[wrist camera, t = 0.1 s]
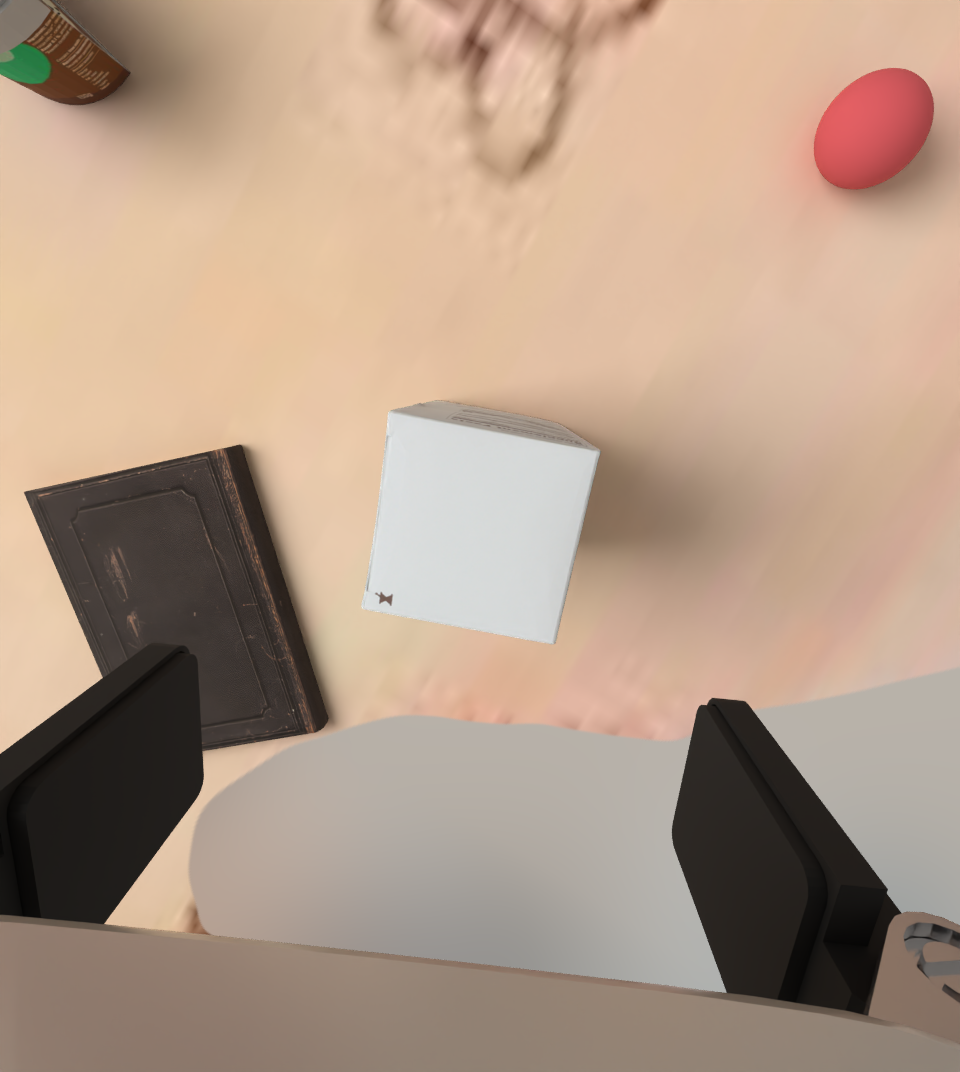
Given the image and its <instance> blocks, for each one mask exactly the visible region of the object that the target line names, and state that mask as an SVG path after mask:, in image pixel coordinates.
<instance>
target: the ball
mask: <svg viewBox="0 0 960 1072" xmlns="http://www.w3.org/2000/svg"><path fill="white" fill-rule="evenodd" d="M933 112H934V103H933V97H932V94H931V91H930V89H929V87H928V85H927V84H926V82H925V81H924V80H923V79H922V78H921V77H920V76H918V75H917V74H915V73H913V72H912V71H909V70H906V69H900V68H888V69H882V70H878V71H874V72H871V73H869V74H867V75H864V76H862V77H861V78H859V79H857V80H855V81H854V82H853V83H851V84H850V85H849V86H847V87H846V88H845V89H844V90H843V91H842V92H841V93H840V94H839V95H838V96H837V97H836V98H835V99H834V100H833V101H832V103H831V104H830V105H829V107H828V108H827V110H826V111H825V113H824V115H823V117H822V119H821V121H820V123H819V126H818V128H817V132H816V135H815V141H814V156H815V161H816V164H817V167H818V169H819V171H820V173H821V174H822V175H823V177H824V178H825V179H826V180H828V181H829V182H830V183H832V184H834V185H836V186H838V187H841V188H846V189H862V188H868V187H871V186H874V185H877V184H879V183H882V182H884V181H886V180H888V179H889V178H891V177H893V176H894V175H895V174H897V173H898V172H900V171H901V170H902V169H903V168H904V167H905V166H906V165H907V164H909V162H910V161H911V160H912V159H913V158H914V157H915V156H916V154H917V153H918V151H919V150H920V149H921V147H922V145H923V144H924V142H925V140H926V138H927V136H928V133H929V131H930V128H931V125H932V120H933Z"/></svg>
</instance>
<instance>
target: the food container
mask: <svg viewBox="0 0 960 1072" xmlns="http://www.w3.org/2000/svg"><path fill="white" fill-rule="evenodd" d="M0 74H1V75H3V76H5V77H7V78H9V79H11V80H13V81H15V82H17V83H18V84H20V85H22V86H24V87H26V88H28V89H30V90H32V91H34V92H36V93H38V94H40V95H42V96H44V97H46V98H48V99H51V100H53V101H56V102H59V103H64V104H69V105H83V104H89V103H94V102H96V101H99V100H101V99H104V98H105V97H107V96H108V95H110V94H111V93H113V92H114V91H115V90H116V89H117V88H118V87H119V86H121V85H122V84H123V82H124V81H125V79H126V78H127V77H128V75H129V74H130V72H129V71H128V70H127V69H126V68H125V67H124V66H123V65H122V64H121V63H120V62H119V61H118V60H117V59H116V58H115V57H114V56H113V55H112V54H111V53H110V52H108V51H107V50H106V49H105V48H104V47H103V46H102V45H101V44H100V43H99V42H98V41H97V40H96V39H95V38H94V37H93V36H92V35H91V34H90V33H89V32H88V31H87V30H86V29H85V28H84V27H82V26H81V25H80V24H79V23H78V22H77V21H76V20H75V19H74V18H73V17H72V16H71V15H70V14H69V13H68V12H67V11H66V10H65V9H64V8H63V7H62V6H61V5H60V4H59V3H57V2H56V1H55V0H0Z"/></svg>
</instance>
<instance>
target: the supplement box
mask: <svg viewBox="0 0 960 1072" xmlns="http://www.w3.org/2000/svg"><path fill="white" fill-rule="evenodd" d="M600 453H601V451H600V450H599V449H598V448H596V447H595V446H593V445H592V444H590V443H589V442H587V441H586V440H584V439H582V438H581V437H579V436H578V435H576V434H575V433H573V432H572V431H570V430H568V429H567V428H565V427H564V426H562V425H561V424H559V423H556V422H552V421H548V420H544V419H539V418H534V417H529V416H524V415H519V414H514V413H508V412H503V411H498V410H492V409H487V408H481V407H475V406H469V405H463V404H457V403H451V402H446V401H440V400H435V401H431V402H426V403H423V404H422V403H419V404H415V405H412V406H408V407H404V408H398V409H394V410H391V411H389V413H388V421H387V431H386V441H385V451H384V460H383V468H382V476H381V485H380V493H379V501H378V509H377V516H376V524H375V531H374V538H373V544H372V550H371V557H370V563H369V570H368V576H367V581H366V587H365V592H364V597H363V601H362V608H363V609H365V610H370V611H375V612H380V613H386V614H391V615H396V616H401V617H407V618H412V619H418V620H423V621H428V622H434V623H439V624H445V625H450V626H456V627H461V628H466V629H472V630H477V631H483V632H488V633H493V634H499V635H504V636H509V637H515V638H520V639H525V640H531V641H537V642H543V643H548V644H555V643H556V638H557V634H558V629H559V625H560V621H561V616H562V612H563V608H564V604H565V599H566V595H567V591H568V586H569V582H570V578H571V573H572V569H573V565H574V561H575V556H576V552H577V548H578V543H579V539H580V535H581V531H582V527H583V522H584V518H585V514H586V510H587V505H588V501H589V497H590V492H591V488H592V484H593V480H594V476H595V472H596V467H597V463H598V459H599V456H600Z"/></svg>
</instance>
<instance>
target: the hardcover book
mask: <svg viewBox="0 0 960 1072" xmlns="http://www.w3.org/2000/svg"><path fill="white" fill-rule="evenodd" d="M24 494H25V496H26V498H27V501H28V503H29V505H30V508H31V510H32V512H33V515H34V517H35V519H36V522H37V524H38V526H39V529H40V531H41V533H42V536H43V538H44V541H45V543H46V545H47V548H48V550H49V552H50V555H51V557H52V559H53V562H54V564H55V566H56V569H57V571H58V573H59V576H60V578H61V580H62V583H63V585H64V588H65V590H66V592H67V595H68V597H69V599H70V602H71V604H72V606H73V609H74V611H75V613H76V616H77V618H78V620H79V623H80V625H81V627H82V630H83V632H84V635H85V637H86V639H87V642H88V644H89V646H90V649H91V651H92V653H93V656H94V658H95V660H96V663H97V665H98V667H99V670H100V672H101V674H102V677H103V678H104V677H105V676H107V675H108V674H109V673H111V672H112V671H113V670H115V669H116V668H117V667H119V666H120V665H121V664H123V663H124V662H125V661H127V660H128V659H130V658H131V657H132V656H134V655H135V654H136V653H138V652H139V651H140V650H142V649H143V648H144V647H146V646H147V645H149V644H151V643H165V644H175V645H185V646H186V647H187V648H188V650H189V652H190V654H194V655H195V656H196V658H197V661H198V676H199V695H200V714H201V733H202V751H205V750H212V749H218V748H224V747H230V746H236V745H242V744H248V743H254V742H260V741H266V740H272V739H278V738H284V737H290V736H297V735H303V734H309V733H315V732H317V731H319V730H321V729H322V728H323V727H324V726H325V725H326V723H327V721H328V716H327V713H326V710H325V707H324V703H323V700H322V697H321V694H320V691H319V688H318V685H317V681H316V678H315V675H314V672H313V669H312V666H311V663H310V660H309V656H308V653H307V650H306V647H305V644H304V641H303V638H302V634H301V631H300V628H299V625H298V622H297V619H296V616H295V612H294V609H293V606H292V603H291V600H290V597H289V594H288V590H287V587H286V584H285V581H284V578H283V575H282V572H281V568H280V565H279V562H278V559H277V556H276V553H275V550H274V546H273V543H272V540H271V537H270V534H269V531H268V528H267V524H266V521H265V518H264V515H263V512H262V509H261V506H260V502H259V499H258V496H257V493H256V490H255V487H254V484H253V480H252V477H251V474H250V471H249V468H248V465H247V462H246V458H245V455H244V452H243V449H242V446H241V445H236V446H232V447H228V448H223V449H218V450H214V451H209V452H205V453H200V454H195V455H191V456H186V457H182V458H177V459H173V460H168V461H163V462H159V463H154V464H150V465H145V466H141V467H136V468H131V469H127V470H122V471H118V472H113V473H108V474H104V475H99V476H95V477H90V478H86V479H81V480H76V481H72V482H67V483H63V484H58V485H54V486H49V487H44V488H40V489H35V490H31V491H26V492H24Z"/></svg>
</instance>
